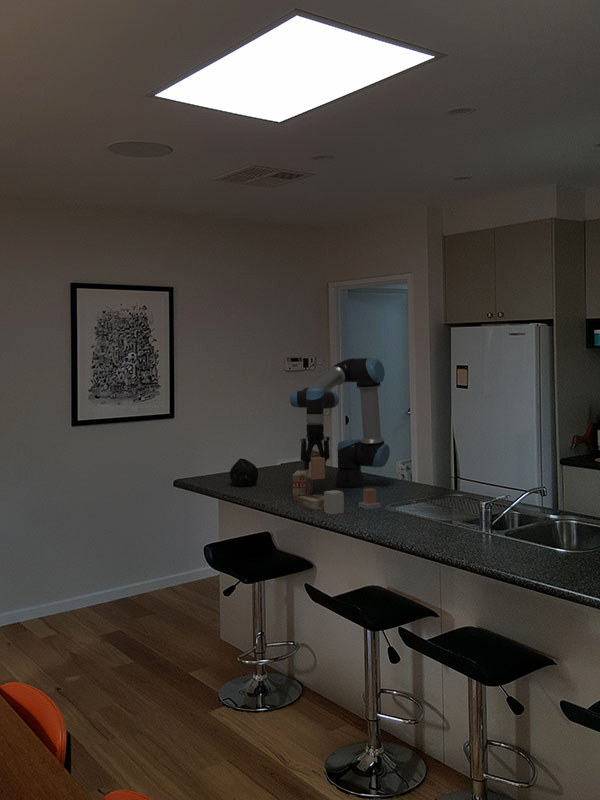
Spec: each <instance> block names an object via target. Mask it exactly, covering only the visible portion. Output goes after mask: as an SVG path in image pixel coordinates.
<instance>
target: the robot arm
mask: <svg viewBox="0 0 600 800" xmlns="http://www.w3.org/2000/svg"><path fill="white" fill-rule="evenodd" d="M385 375H386V373H385V367H384V365H383V363H382V361H381V360H380V359H378V358H372V357H371V358H367V357H366V358H363V357H360V358H352V357H351V358H346V359H344V360H342V361H339V362H337V363H336V364H334V365H332V366H331V367H330V368H329V369H328V371H327V372H326V373H325V374H323V375H322V376H320V377H319V378H317V379H316V380H315V381H313V382H312V383H310V384H309V385H307V386H305V388H304V389H301V390H293V391H292V392H291V393H290V395H289V403H290V405H291V406H292V407H293V408H299V409H300V408H302V409H304V408H305V409H306V417H305V419H306V423H307V424H306V436H304V437H301V438H300V440H299V441H300V443H301V447H300V448H301V449H300V461H302V462H303V461H304V462H305V469H306V476H307V477H311V462H309V461H310V457H311V453H312V450H313V449H314V447H315V446H316V447H317V449H318V452H319V454H320V457H322V458H325V468H326V467H327V466H326V465H327V464H326V463H327V461H328V460H330V458H331V457H330V443H329V442H330V436H326V435H325V434H324V431H325V427H324V422H325V421H324V419H325V417H324V415H325V414H324V412H325V411H324V409H325V410H326V409H332V408H333V409H334V408H335V407H337V406H338V405H339V402H340V398H339V395H338V393H337V392H335V391H331V390H332V389H333V388H335V387H336V386H340V385H342V384H345V383H356V388H357V389H358V390H359V391H360V392H359V395H360V409H361V421H362V434H363V435H362V436H363V437H362V438H361V439H358V438H357V439H347V440H342V441H341V440H340V441H339V442H338V443H337V472H336V475H335V478H334V486H335V487H337V486H338V488H343V487H356V488H361V486H362V487H365V479H364V476H363V473H362V468H361V467H370V468H383V467H385V466H386V464H387V463H388V460H389V458H390V454H391V453H390V452H391V451H390V446H389V444H387V443H385V439H384V438H383V437H382V433H381V420H380V419H381V417H380V405H379V404H380V403H379V392H378V389H379V388H380V387H381V383H382V382H384V379H385ZM306 450H307V452H306Z"/></svg>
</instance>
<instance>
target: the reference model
mask: <svg viewBox="0 0 600 800" xmlns="http://www.w3.org/2000/svg"><path fill="white" fill-rule="evenodd" d="M362 489H363V491H362V493H363V495H362V496H363V497H362V499H363V500H362V501H361V502H358V508H360V507H362V508H361V509H363V508H364V510H366V509H367V510H366V511H369V509H370V510H376V509H377V508H378V509H381V508H382V503H381V502H377V489H376V488H373V487H372V488H362Z"/></svg>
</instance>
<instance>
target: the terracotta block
mask: <svg viewBox="0 0 600 800" xmlns="http://www.w3.org/2000/svg"><path fill="white" fill-rule="evenodd" d="M309 462H311V477H307V476H306V478H309V479H312V480H313V481H314V480H323V479H326V467H325V458H322V457H318V456H317V457H310V461H309Z"/></svg>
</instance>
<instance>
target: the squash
mask: <svg viewBox="0 0 600 800" xmlns="http://www.w3.org/2000/svg"><path fill="white" fill-rule="evenodd" d="M229 477H230V481H231V483H232V484H234V486H236V487H241V486H244V487H245V486H246V487H251V486H250V485H252V486H254V485H255V484H257V481H258V479H259V470H258V467H257V466H256V465H255V464H254V463H253V462H252V461H249V460H247V459H246V458H239V459H238V460H237V461H236V462H235V463H234V464H233V465H232V467H231V468H230V471H229Z"/></svg>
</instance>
